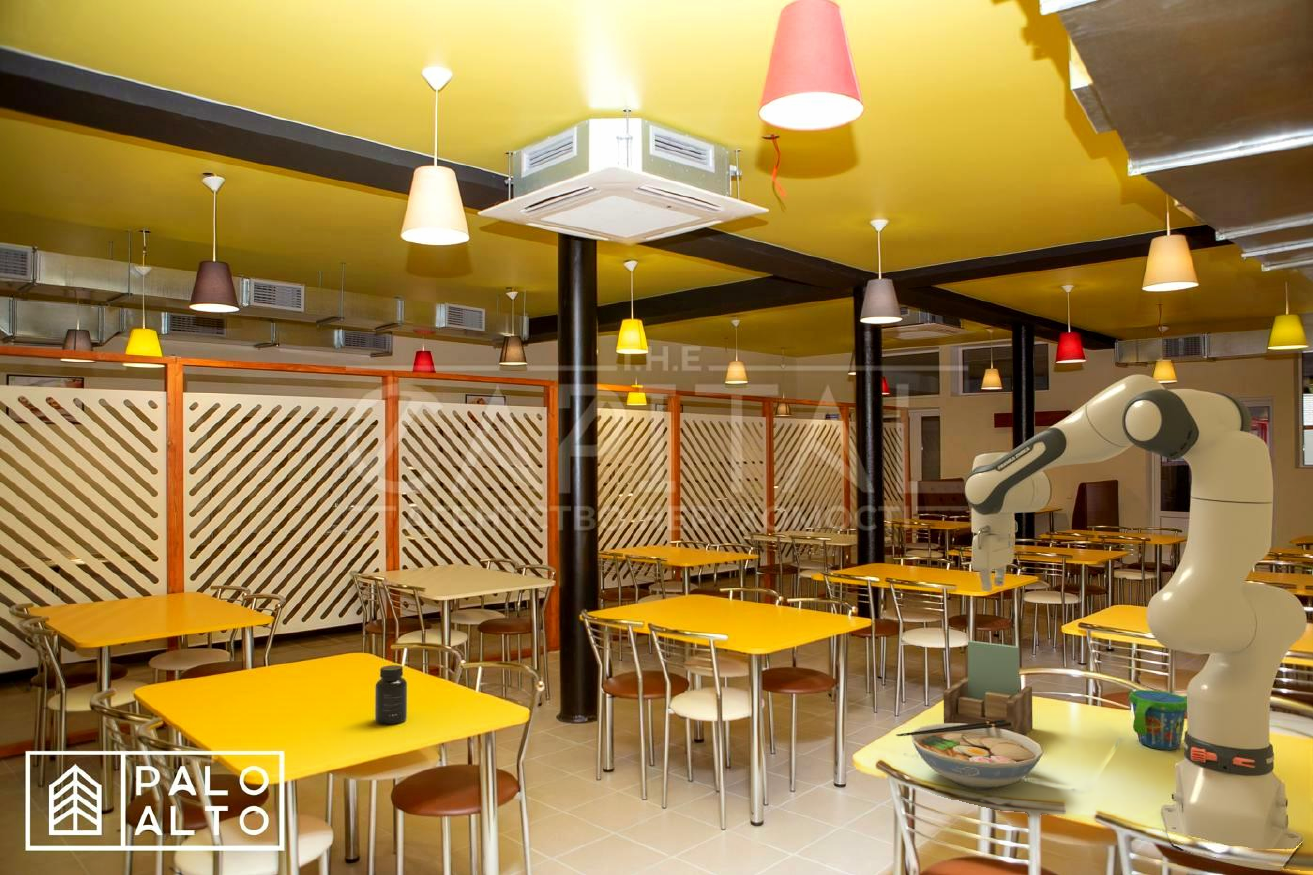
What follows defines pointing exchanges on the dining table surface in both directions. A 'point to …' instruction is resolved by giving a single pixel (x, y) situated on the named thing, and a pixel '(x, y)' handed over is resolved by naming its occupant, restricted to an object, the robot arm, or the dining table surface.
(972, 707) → the short oak offcut
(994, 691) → the tall panel
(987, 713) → the tall oak offcut
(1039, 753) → the ramen bowl
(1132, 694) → the snack cup
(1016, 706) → the walnut rack
